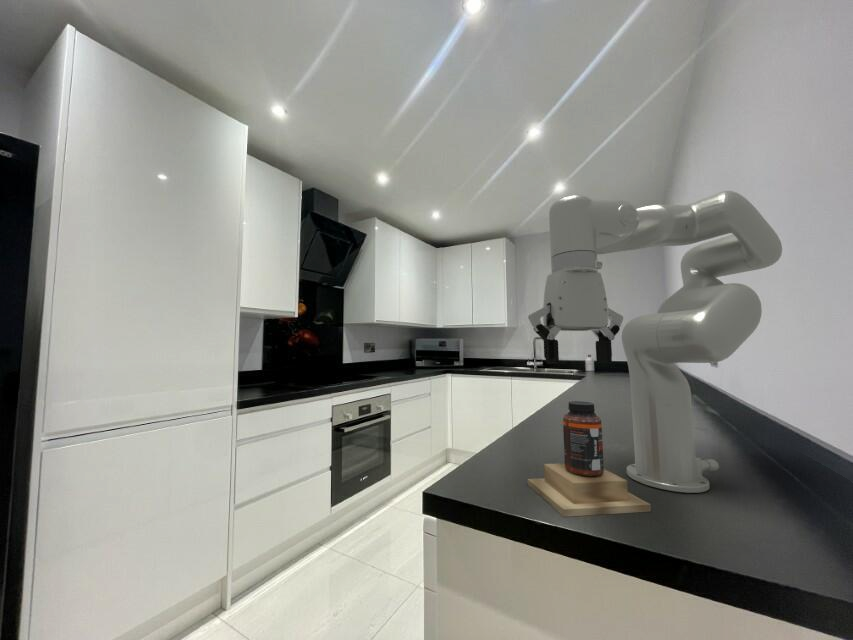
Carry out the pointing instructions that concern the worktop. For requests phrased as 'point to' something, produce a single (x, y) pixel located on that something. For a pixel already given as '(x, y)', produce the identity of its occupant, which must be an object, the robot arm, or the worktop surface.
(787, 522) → the worktop surface
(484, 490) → the worktop surface
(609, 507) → the oak base
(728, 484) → the worktop surface
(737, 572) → the worktop surface
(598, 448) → the supplement bottle
